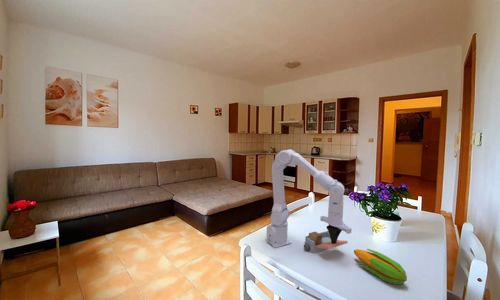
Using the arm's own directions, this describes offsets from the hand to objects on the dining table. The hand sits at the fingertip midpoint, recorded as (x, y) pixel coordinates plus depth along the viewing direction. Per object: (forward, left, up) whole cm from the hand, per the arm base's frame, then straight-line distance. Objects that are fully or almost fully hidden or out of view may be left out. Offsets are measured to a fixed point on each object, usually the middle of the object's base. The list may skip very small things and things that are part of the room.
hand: (333, 243), depth 91 cm
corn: (+6, -15, -6) cm, 17 cm away
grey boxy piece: (0, +7, -5) cm, 9 cm away
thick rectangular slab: (0, +3, -2) cm, 4 cm away
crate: (-4, +7, -2) cm, 8 cm away
